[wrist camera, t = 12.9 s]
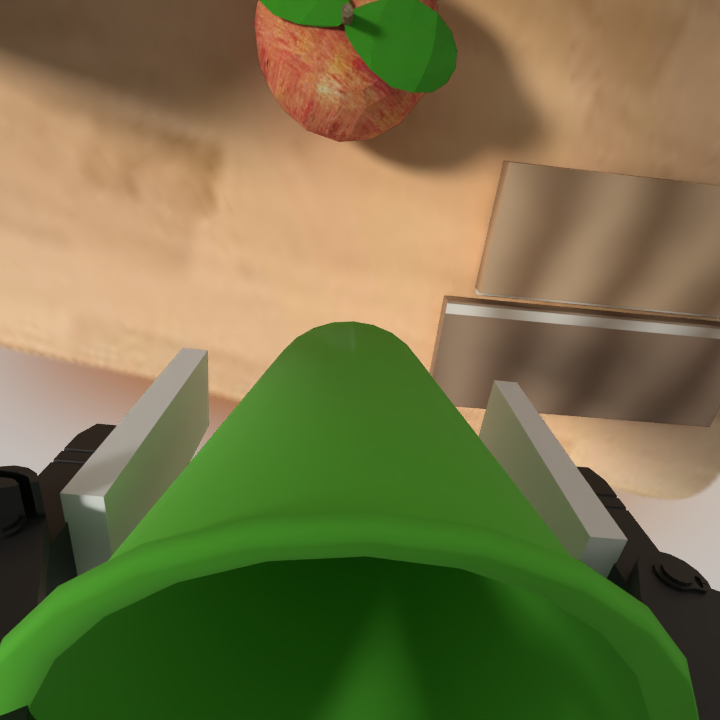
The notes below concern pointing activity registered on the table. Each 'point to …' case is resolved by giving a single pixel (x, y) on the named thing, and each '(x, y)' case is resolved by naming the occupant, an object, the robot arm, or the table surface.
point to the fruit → (352, 61)
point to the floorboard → (580, 360)
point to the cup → (343, 576)
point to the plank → (603, 241)
